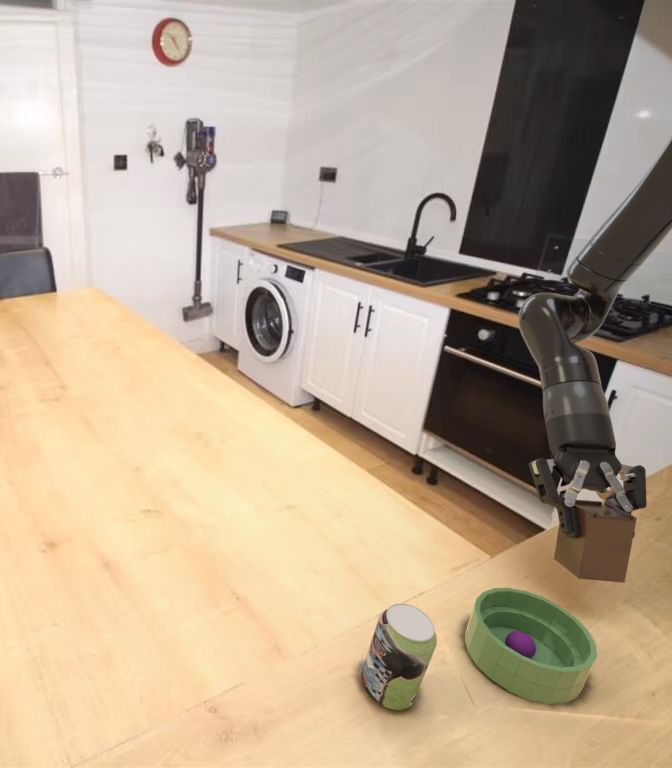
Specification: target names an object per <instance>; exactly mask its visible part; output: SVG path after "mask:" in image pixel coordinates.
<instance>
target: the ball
mask: <svg viewBox="0 0 672 768" xmlns="http://www.w3.org/2000/svg"><path fill="white" fill-rule="evenodd" d="M505 645H506V646H508V647H509V648H511V649H512V650H514V651H516V652H517V653H519V654H521V655H522V656H525V657H527V658H529V659H530V658H532V657H533V656H534V655H535V652H536V645H535V642H534V641H533V639H532V638H531V637H530V636H529V635H527V634H526V633H524V632H520V631H513V632H511V633H509V634H508V635H507V637H506V639H505Z"/></svg>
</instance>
